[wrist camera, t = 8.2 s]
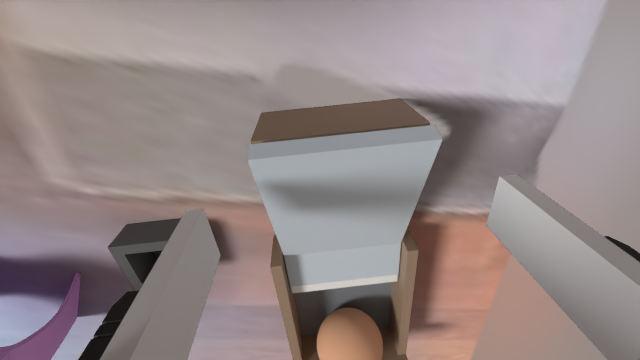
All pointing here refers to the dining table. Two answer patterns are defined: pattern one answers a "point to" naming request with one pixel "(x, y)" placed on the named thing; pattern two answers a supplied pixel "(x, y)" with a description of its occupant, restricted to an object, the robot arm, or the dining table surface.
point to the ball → (349, 336)
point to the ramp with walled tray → (343, 213)
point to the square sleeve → (140, 248)
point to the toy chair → (48, 331)
